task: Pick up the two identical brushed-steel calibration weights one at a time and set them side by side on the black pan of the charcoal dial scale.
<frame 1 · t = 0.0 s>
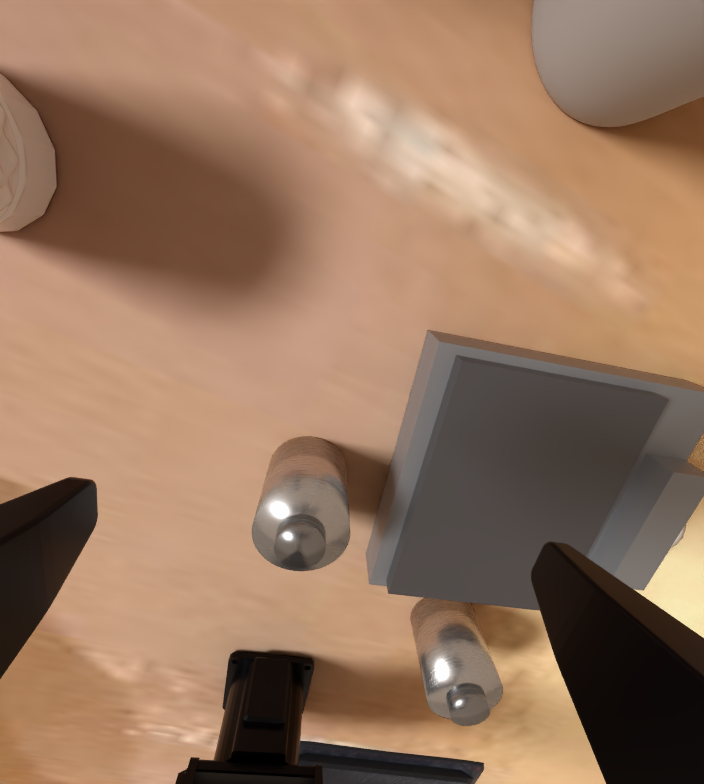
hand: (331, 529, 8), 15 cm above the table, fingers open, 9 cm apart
weight 1: (441, 615, 30), on the table
wallet: (365, 783, 39), on the table
weight 2: (308, 470, 24), on the table
scale: (513, 473, 25), on the table
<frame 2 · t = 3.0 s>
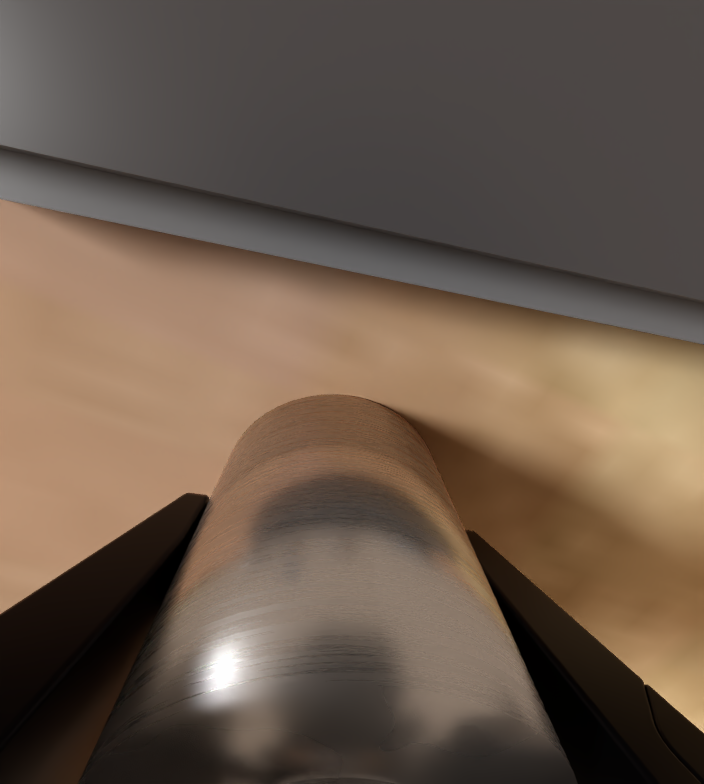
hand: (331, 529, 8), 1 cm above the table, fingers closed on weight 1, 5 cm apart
weight 1: (331, 491, 9), on the table, touching gripper
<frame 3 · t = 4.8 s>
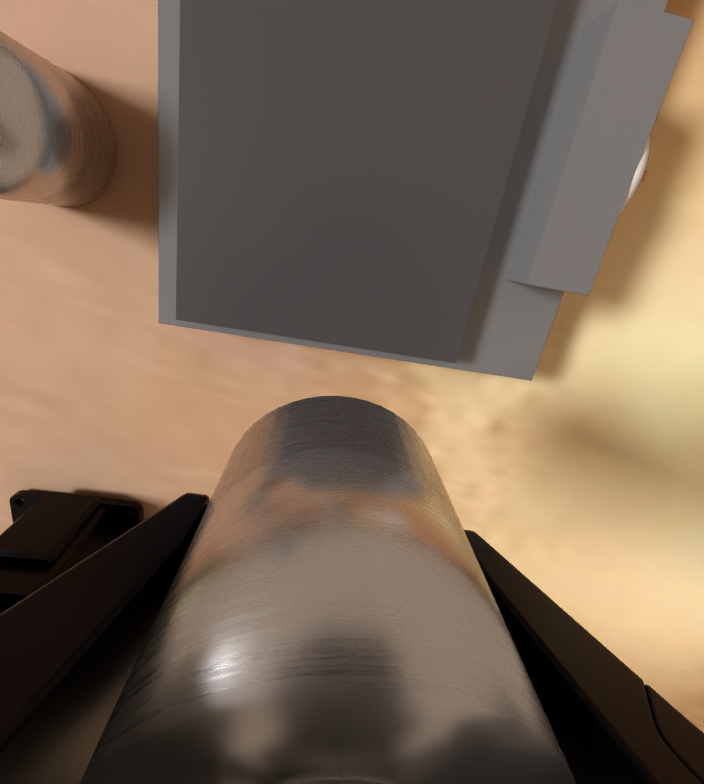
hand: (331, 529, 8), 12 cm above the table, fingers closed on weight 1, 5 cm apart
weight 1: (331, 493, 9), point 11 cm above the table, touching gripper
weight 2: (52, 138, 15), on the table
scale: (385, 150, 16), on the table
when the fingers open (6 cm above the table, at t = 6.6 s): weight 1 drops 1 cm, resting on scale.
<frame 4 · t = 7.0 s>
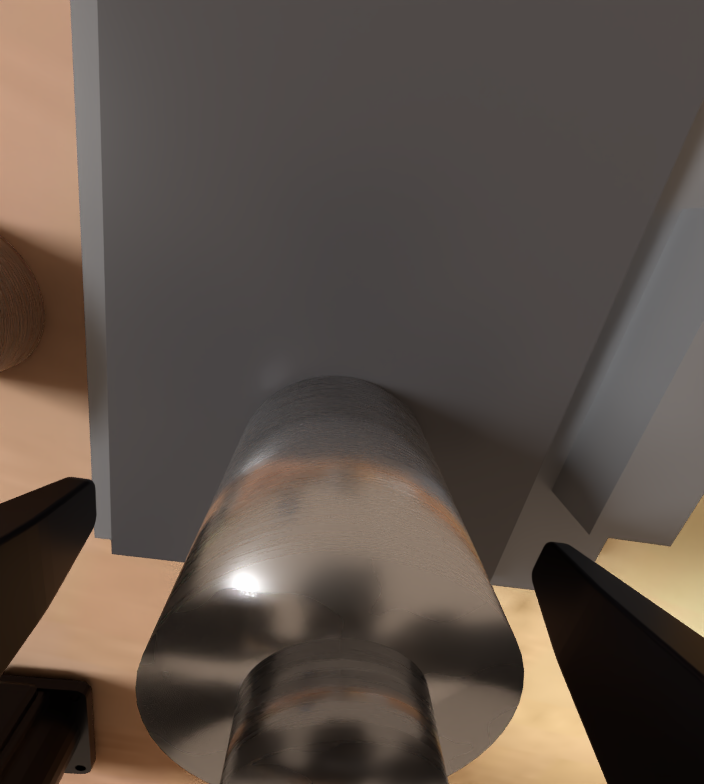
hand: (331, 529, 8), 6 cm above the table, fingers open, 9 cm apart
weight 1: (333, 463, 10), point 3 cm above the table, touching scale
scale: (400, 313, 12), on the table
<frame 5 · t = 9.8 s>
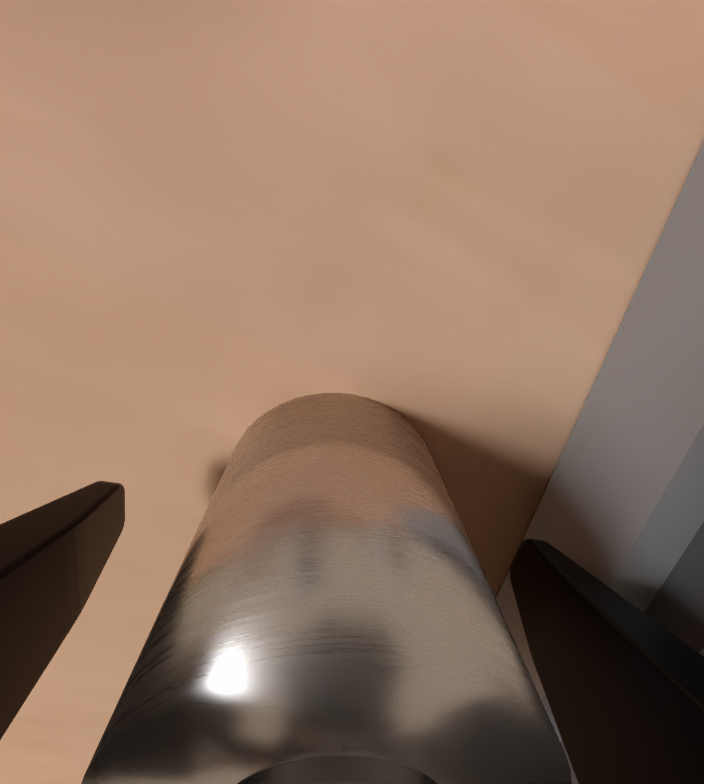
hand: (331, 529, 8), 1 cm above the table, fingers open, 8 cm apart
weight 2: (332, 488, 9), on the table
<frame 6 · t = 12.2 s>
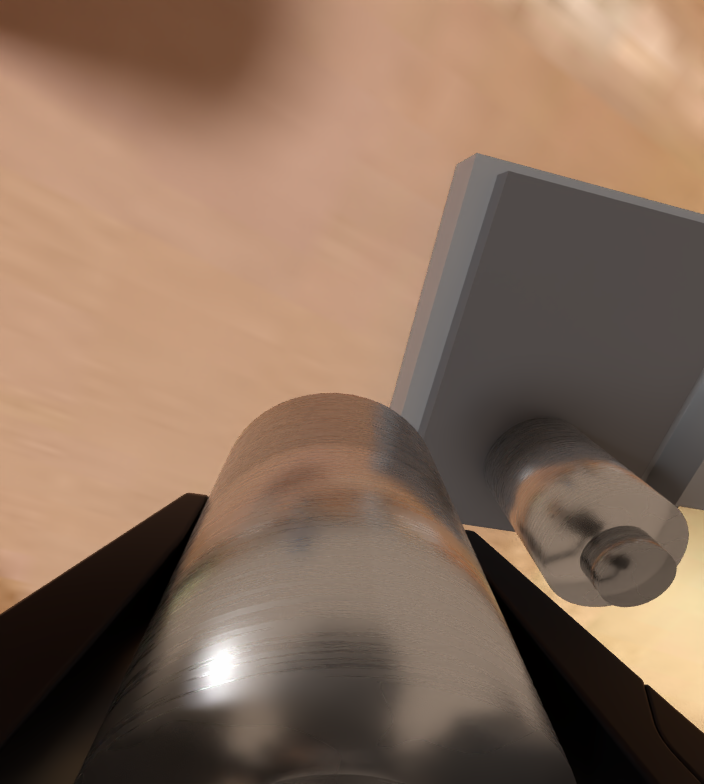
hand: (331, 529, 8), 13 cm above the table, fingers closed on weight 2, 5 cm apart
weight 1: (535, 463, 18), point 3 cm above the table, touching scale
weight 2: (330, 490, 9), point 11 cm above the table, touching gripper
scale: (554, 374, 20), on the table
when the fingers open (6 cm above the table, at t = 14.4 s): weight 2 drops 1 cm, resting on scale.
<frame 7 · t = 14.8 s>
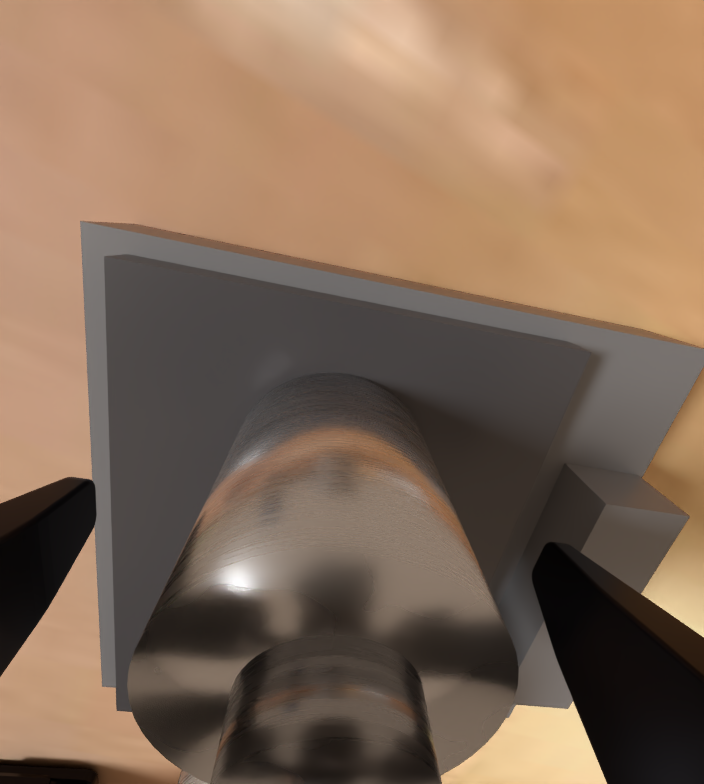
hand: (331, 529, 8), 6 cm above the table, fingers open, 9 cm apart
weight 2: (330, 460, 10), point 4 cm above the table, touching scale
scale: (355, 496, 15), on the table
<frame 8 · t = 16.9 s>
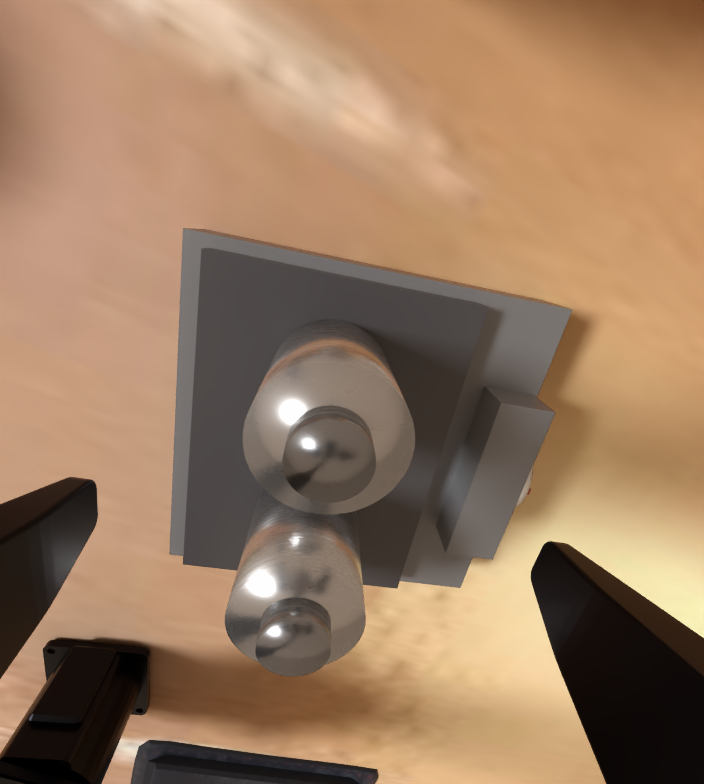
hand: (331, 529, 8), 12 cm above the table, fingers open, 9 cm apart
weight 1: (306, 515, 19), point 3 cm above the table, touching scale
weight 2: (330, 377, 16), point 3 cm above the table, touching scale
scale: (348, 421, 21), on the table
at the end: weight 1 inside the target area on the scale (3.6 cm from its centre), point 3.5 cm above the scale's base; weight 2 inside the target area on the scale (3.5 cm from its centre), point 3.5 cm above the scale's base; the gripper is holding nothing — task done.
